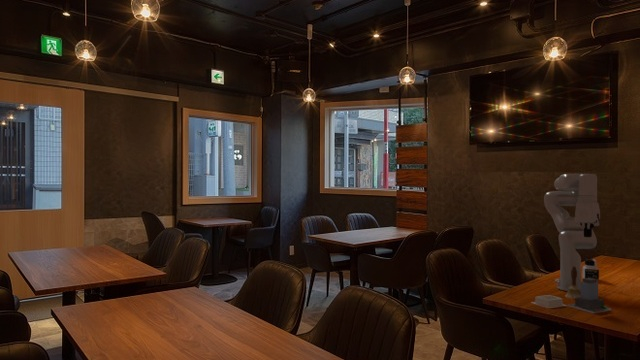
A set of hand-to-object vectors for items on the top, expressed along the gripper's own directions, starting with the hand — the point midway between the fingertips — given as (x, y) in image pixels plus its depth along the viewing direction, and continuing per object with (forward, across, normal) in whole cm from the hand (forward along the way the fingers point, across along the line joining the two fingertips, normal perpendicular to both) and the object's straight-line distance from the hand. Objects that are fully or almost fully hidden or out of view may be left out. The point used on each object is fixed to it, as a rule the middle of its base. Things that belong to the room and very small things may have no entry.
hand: (587, 236), depth 208 cm
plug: (+30, +10, -14) cm, 34 cm away
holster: (+31, -1, -25) cm, 40 cm away
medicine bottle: (+31, -30, +45) cm, 62 cm away
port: (+31, +10, -14) cm, 35 cm away
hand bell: (+31, -5, -3) cm, 32 cm away
